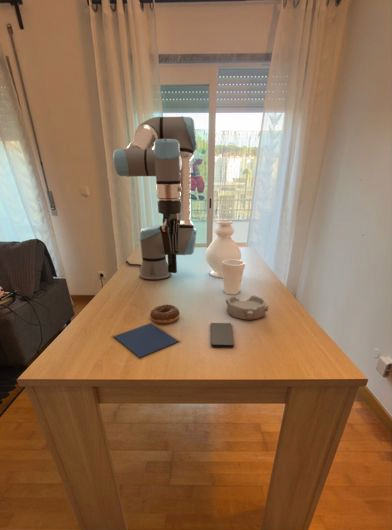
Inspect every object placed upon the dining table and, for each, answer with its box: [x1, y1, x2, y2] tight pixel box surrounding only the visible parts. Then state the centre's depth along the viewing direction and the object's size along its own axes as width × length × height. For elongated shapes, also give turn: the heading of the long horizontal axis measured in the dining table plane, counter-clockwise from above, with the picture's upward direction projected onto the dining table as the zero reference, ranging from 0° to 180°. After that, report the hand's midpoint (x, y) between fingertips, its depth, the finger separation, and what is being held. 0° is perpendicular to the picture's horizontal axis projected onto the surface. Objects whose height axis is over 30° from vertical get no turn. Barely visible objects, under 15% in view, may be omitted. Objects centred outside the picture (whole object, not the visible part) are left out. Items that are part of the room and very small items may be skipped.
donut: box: [149, 303, 180, 324], centre depth 101 cm, size 11×11×4 cm
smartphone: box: [210, 322, 235, 348], centre depth 91 cm, size 7×1×15 cm
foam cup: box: [222, 259, 246, 295], centre depth 121 cm, size 10×9×13 cm
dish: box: [225, 295, 269, 320], centre depth 105 cm, size 14×14×5 cm
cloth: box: [113, 322, 179, 359], centre depth 90 cm, size 16×14×1 cm
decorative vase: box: [204, 219, 242, 279], centre depth 140 cm, size 18×18×25 cm
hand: (172, 272), depth 103 cm, fingers closed
